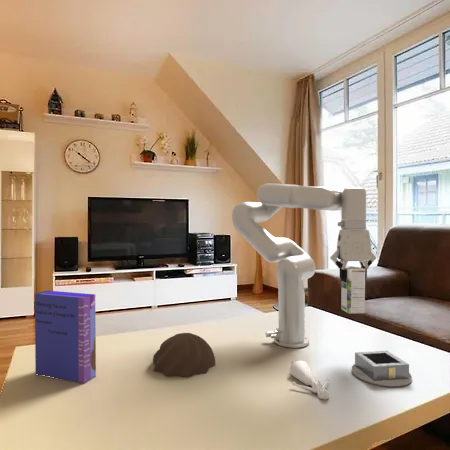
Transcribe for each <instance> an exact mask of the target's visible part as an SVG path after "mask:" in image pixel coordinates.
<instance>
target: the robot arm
mask: <svg viewBox="0 0 450 450" xmlns="http://www.w3.org/2000/svg"><path fill="white" fill-rule="evenodd" d="M256 199H257V200H258V201H259V202H258V201H243V202H239V203H238V204H236V205H235V206H234V207H233V209H232V214H231V220H232V224H233V226H234V229H235V230H236V232H237V233H238V235H240V236H241V237H242V239H244V240H245V241H246V242H247V243H249V245H250V246H251V247H252V248H253V249H254V250H255V251H256V252H257V253H258V254H259V256H261V257H262V258H263V259H264V260H265V261H266V262H268V263H270V264H271V263H272V264H273V263H277V265H276V268H275V275H276V280H277V281H276V282H277V288H278V292H277V293H278V297H277V298H278V299H277V300H278V327H276V329H275V330H273V331H265V337H266V338H270V339H273V340H274V341H273V342H274V343H275V344H276V345H278V346H280V347H284V348H290V349H291V348H293V349H297V348H305V347H307V346H308V345H309V344H310V339H309V338H308V337H307V336H306V334H305V331H306V329H305V326H306V325H305V323H306V321H305V317H306V315H305V314H306V313H305V310H306V305H305V304H306V301H305V300H306V299H305V295H306V294H305V288H304V285H303V281H305V280H309V279H310V278H312V277H313V276H314V275H315V273H316V269H317V267H316V264H315V260H314V259H313V258H312V257H311V256H310V255H309V253H307V252H306V251H304V249H303V248H302V247H300V246H299V245H298V244H297V243H296V242H295V241H293V239H290V238H288V237H284V236H283V237H276V236H274V235H272V234H271V233H270V232H269V231H268V230H266V229H265V228H264V227H263V226H261V225H260V224H261V223H264V222H267V221H269V219H270V218H272V217H273V216H274V215H275V214H276V213H278V212H279V211H280V210H281V209H282V208H291V209H298V208H299V209H300V208H301V209H306V210H307V209H308V210H309V209H310V210H315V211H316V210H318V211H332V212H333V211H336V212H337V211H341V220H340V221H337V227H340V228H341V229H339V230H338V231H339V232H338V235H337V242H336V250H335V252H333V254H332V255H331V256H330V258H329V259H330V260H331V261H332V262H333V264H335V266H336V267H338V269H339V280H340V282H342V281H343V282H347V270H346V269H345V268H346V266H348V262H359V266H360V268H364V269H365V282H367V279H368V270H369V268H370V266H371V265H372V264H373V262H375V261H376V259H377V256H376V255H375V254H374V253H373V252H372V242H371V241H372V240H371V236H370V235H371V234H370V232H369V229H367V220H366V219H367V190H366V188H364V187H357V186H356V187H354V186H351V187H345V188H342V189H341V188H340V189H339V188H333V187H326V186H313V185H312V186H309V185H308V186H307V185H299V184H290V183H289V184H286V183H285V184H284V183H271V182H270V183H268V182H267V183H264V184H262V185H260V186H259V187H258V189H257V191H256ZM259 223H260V224H259Z"/></svg>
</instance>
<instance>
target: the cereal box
mask: <svg viewBox="0 0 450 450" xmlns="http://www.w3.org/2000/svg"><path fill="white" fill-rule="evenodd" d="M96 325H97V324H96V294H94V293H84V292H83V293H81V292H72V291H71V292H68V291H59V290H58V291H56V290H44V291H43V290H42V291H38V292H36V293H34V336H35V337H34V339H35V340H34V342H35V343H34V344H35V347H34V348H35V349H34V351H35V354H34V355H35V364H34V365H35V375H36V374H38V375H37V376H39V375H45V376H50V377H54V378H53V379H55V378H58V379H57V380H60V379H62V380H61V381H67V382H72V383H76V384H77V383H78V384H83V385H84V384H85V385H86V384H87V383H88V382H89V381H91V380H93V379H95V378H96V377H97V374H96V373H97V364H96V363H97V361H96V360H97V359H96V355H97V354H96V352H97V351H96V347H97V346H96V345H97V343H96V336H97V335H96V334H97V333H96V332H97V331H96ZM50 377H49V378H50Z"/></svg>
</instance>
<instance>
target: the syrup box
mask: <svg viewBox="0 0 450 450" xmlns="http://www.w3.org/2000/svg"><path fill="white" fill-rule="evenodd" d="M345 269H346V270H347V282H343V281H341V292H340V294H341V296H340V297H341V299H340V301H341V302H340V305H341V310H342V311H344V312H346V313H347V314H350V315H351V314H364V313H366V310H365V309H366V308H365V307H366V299H365V298H366V281H365V269H364V268H361V266H360V267H359V266H355V265H346V268H345Z"/></svg>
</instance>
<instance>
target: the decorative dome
mask: <svg viewBox="0 0 450 450" xmlns="http://www.w3.org/2000/svg"><path fill="white" fill-rule="evenodd" d="M152 363H153V365H154V367H153V371H154V372H156V373H157V372H158V373H160V374H162V375H163V376H164V377H166V378H167V377H168V378H170V377H171V378H172V377H179V378H185V379H188V378H190V377H193V376H196V375H204V374H205V375H206V374H207V373H208V372H209V369H212V368H214V367H216V358H215V353H214V351H213V349H212V347H211V345H210V344H209V343H208V342H207V341H206V340H205V339H204V338H203V337H201V336H199V335H197V334H194V333H191V332H182V333H176V334H174V335H173V336H172V335H171V336H170V337H168V338H167V339H165V340H164V341H163V342H161V344H160V346H159V349H158V350H156V351H155V353H154V355H153V357H152Z"/></svg>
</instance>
